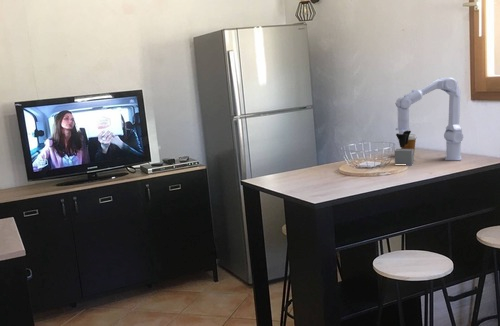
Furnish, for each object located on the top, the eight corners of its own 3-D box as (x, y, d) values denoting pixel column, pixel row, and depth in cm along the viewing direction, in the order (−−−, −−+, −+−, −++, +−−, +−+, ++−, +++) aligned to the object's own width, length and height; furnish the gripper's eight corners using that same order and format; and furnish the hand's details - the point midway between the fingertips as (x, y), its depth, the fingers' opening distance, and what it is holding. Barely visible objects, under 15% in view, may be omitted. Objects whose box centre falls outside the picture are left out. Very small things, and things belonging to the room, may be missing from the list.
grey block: (397, 162, 289) (396, 148, 287) (413, 163, 285) (413, 148, 283) (394, 164, 284) (394, 150, 282) (411, 165, 280) (411, 150, 278)
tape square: (398, 162, 290) (397, 161, 290) (413, 162, 286) (413, 162, 286) (394, 165, 283) (394, 165, 283) (410, 165, 279) (410, 165, 279)
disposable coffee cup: (395, 156, 307) (395, 135, 304) (408, 153, 311) (408, 133, 308) (407, 158, 298) (406, 137, 296) (420, 156, 302) (420, 135, 300)
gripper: (398, 118, 288) (398, 143, 291) (392, 122, 275) (393, 148, 278) (411, 118, 285) (412, 143, 287) (406, 122, 272) (407, 148, 275)
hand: (403, 145), depth 282 cm, fingers open, 7 cm apart
